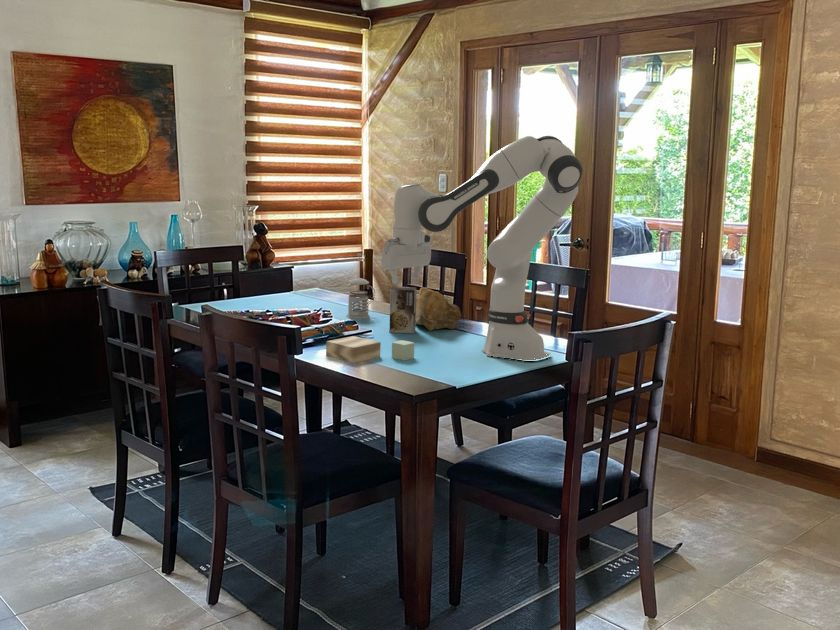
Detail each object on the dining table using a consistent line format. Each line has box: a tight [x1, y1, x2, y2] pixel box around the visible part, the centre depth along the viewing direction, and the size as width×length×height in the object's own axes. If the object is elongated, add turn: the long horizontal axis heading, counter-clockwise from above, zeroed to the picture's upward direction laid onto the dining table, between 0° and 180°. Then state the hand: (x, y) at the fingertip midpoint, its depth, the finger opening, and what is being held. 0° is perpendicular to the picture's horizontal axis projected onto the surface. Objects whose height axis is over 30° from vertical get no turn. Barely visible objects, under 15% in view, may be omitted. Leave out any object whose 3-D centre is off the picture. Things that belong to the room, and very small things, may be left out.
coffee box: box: [389, 286, 417, 334], centre depth 298 cm, size 9×6×16 cm
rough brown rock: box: [415, 286, 462, 331], centre depth 308 cm, size 23×17×15 cm
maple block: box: [325, 335, 381, 364], centre depth 259 cm, size 12×12×5 cm
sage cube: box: [391, 339, 415, 361], centre depth 259 cm, size 5×5×5 cm
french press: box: [345, 253, 376, 320], centre depth 323 cm, size 10×12×25 cm
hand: (405, 281), depth 255 cm, fingers open, 8 cm apart
